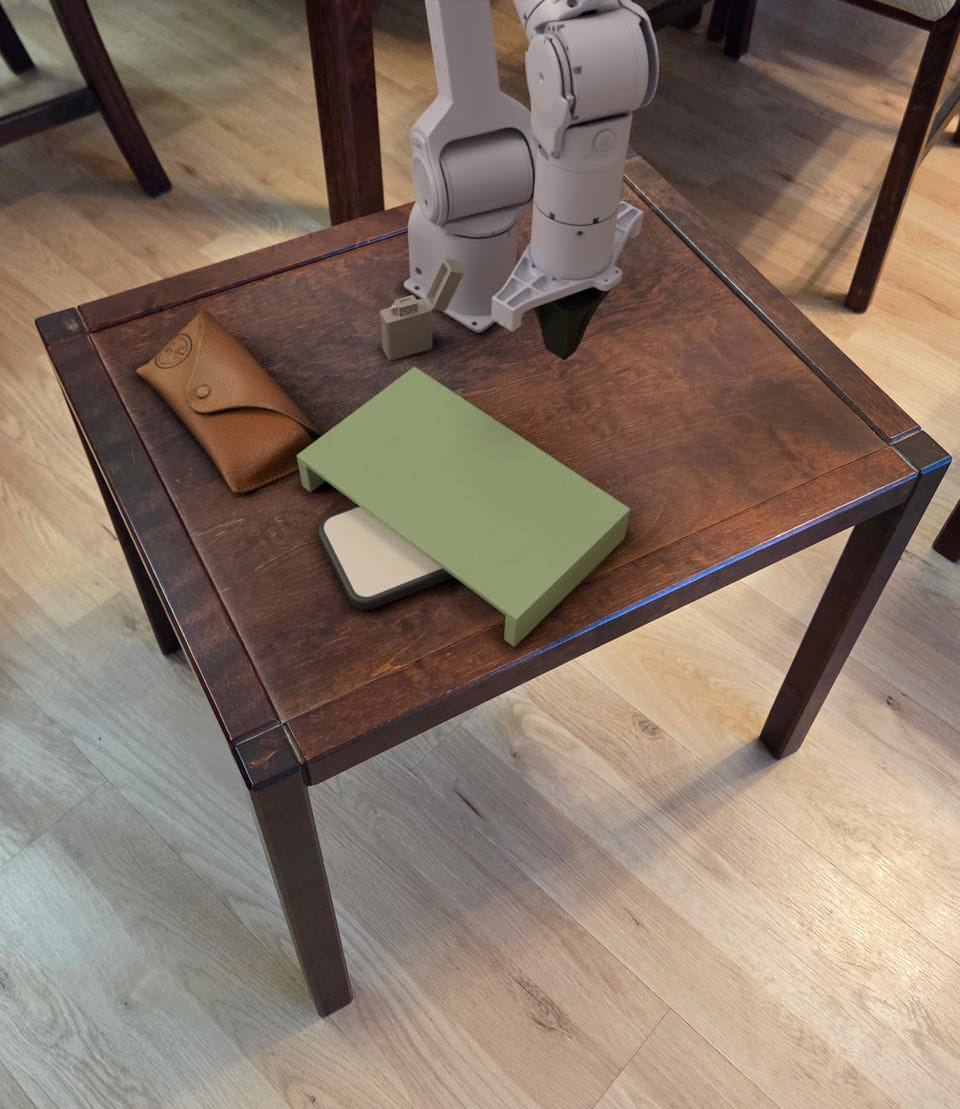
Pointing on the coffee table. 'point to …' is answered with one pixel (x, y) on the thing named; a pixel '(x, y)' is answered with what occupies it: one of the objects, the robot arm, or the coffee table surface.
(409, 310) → the lighter
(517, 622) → the riser stand
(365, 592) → the phone case
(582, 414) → the coffee table surface
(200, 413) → the sunglasses case
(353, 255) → the coffee table surface
